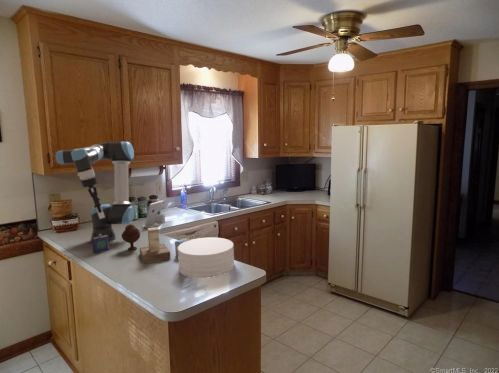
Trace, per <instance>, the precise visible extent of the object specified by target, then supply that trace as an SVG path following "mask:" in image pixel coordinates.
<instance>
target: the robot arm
mask: <svg viewBox="0 0 499 373" xmlns="http://www.w3.org/2000/svg"><path fill="white" fill-rule="evenodd" d="M134 157H135V151H134V147H133V145H132V143H131V142H130V141H104V142H100V143H95V144H92V145H90V146H87V147H86V146H85V147H80V148H73V149H66V150H65V149H63V150H62V149H61V150H57V152H55V161H56V163H58V164H59V165H74V166H75V167H74V168H76V171H77V177H79V179H80V183H81V186H82V187H83V188H87V187H88V189H87V191H88V194H89V195H90V197H91V198H92V200H93V203H94V206H93V207H92V208H91V209H90V216H91V224H92V232H91V235H90V242H91V243H92V238H94V237H98V236H99V234H102V235H101V236H104V235H107V236H108V243H109V242H112V241H114V240H116V238H117V237H116V233H115V231H114V229H113V225H130V224H131V223H132V222H133V220H134V218H135V207H134V206H132V203H131V202H130V201H129V193H130V192H129V189H130V188H129V165H130V164H131V162H132V160H134ZM100 160H108V161H109V160H110V161H111V163H112V164H113V165H114V167H113V168H114V170H113V171H114V172H113V173H114V201H113V203H112V205H111V204H110V203H103V204H101V202H100V201H101V198H99V197H98V196H99V194H98V190H97V187H95V186H94V185H97V184H98V183H99V182H98V179H97V177H96V173H95V171H94V168H93V166H92V165H93V164H95V163H97V162H98V161H100Z"/></svg>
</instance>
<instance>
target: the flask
mask: <svg viewBox="0 0 499 373" xmlns="http://www.w3.org/2000/svg"><path fill="white" fill-rule="evenodd" d="M101 235H102V234H99V236H98V237H94V238H92V242H91V243H92V251H93V254H99V253H100V254H101V253H103V252H107V251H109V250H110V246H109V242H108V236H107V235H104V236H101Z"/></svg>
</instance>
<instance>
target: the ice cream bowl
mask: <svg viewBox="0 0 499 373" xmlns="http://www.w3.org/2000/svg"><path fill="white" fill-rule="evenodd" d="M140 237H141V232H140V229H138V227H136V225H134V224H131V223H130V224H126V226H125V229H124V230H123V232H122V234H121V239H122V240H123V241H124V242H125V243H128V244H130V246H129V247H128V248H127V251H129V252H130V251H131V252H133V251H135V250H137V249H138V248H137V247H136V246H134V243H136V242H137V241H138V240H139V239H140Z"/></svg>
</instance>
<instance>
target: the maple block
mask: <svg viewBox="0 0 499 373" xmlns="http://www.w3.org/2000/svg"><path fill="white" fill-rule="evenodd" d="M159 233H160V232H159V228H158V226H156V227H153V228H147V238H148V246H149V250H150V252H153V251H159V250H160V247H159V245H160V234H159Z"/></svg>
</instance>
